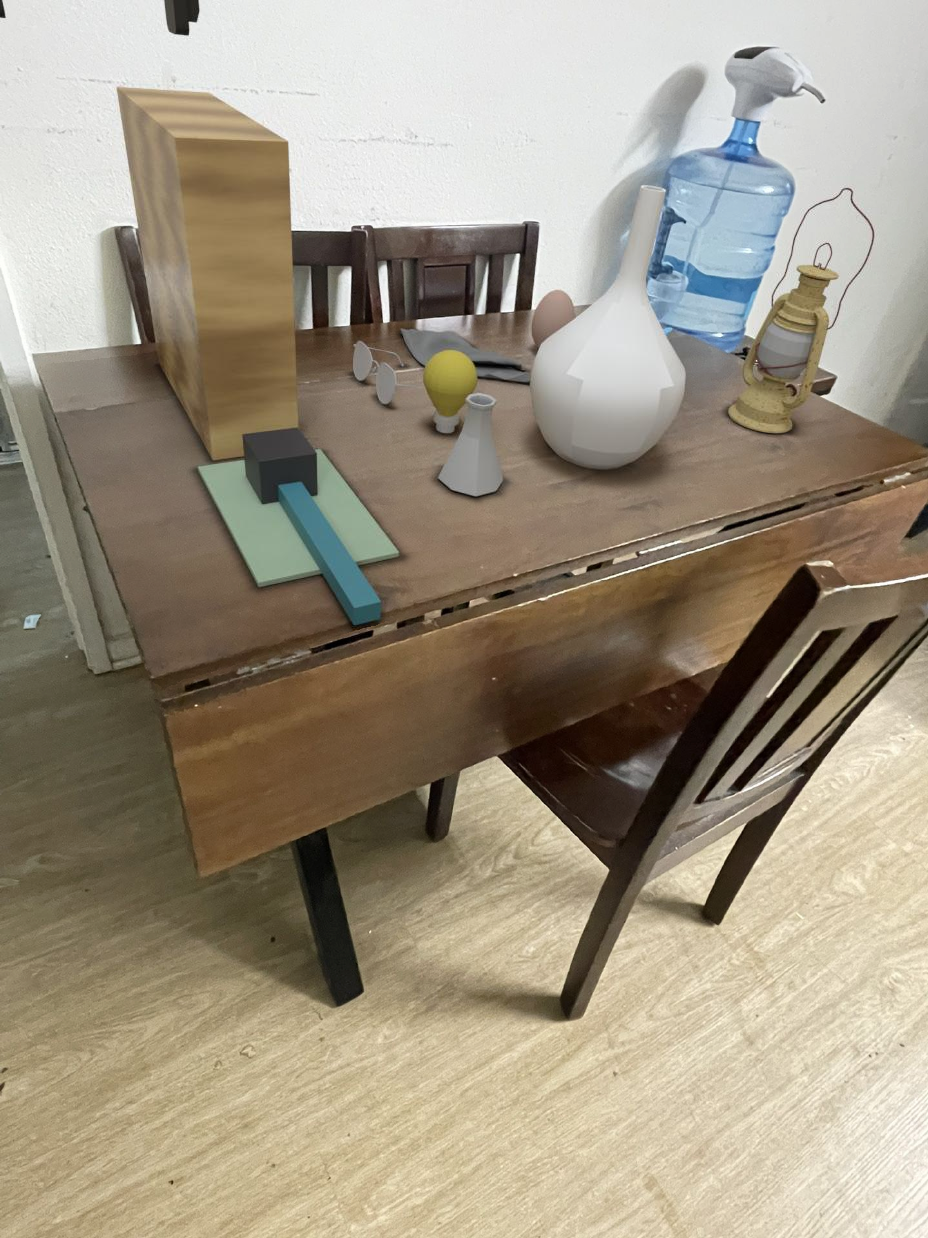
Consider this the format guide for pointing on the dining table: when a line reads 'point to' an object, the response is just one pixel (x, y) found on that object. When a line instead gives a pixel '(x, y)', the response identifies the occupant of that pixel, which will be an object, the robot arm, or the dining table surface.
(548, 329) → the egg
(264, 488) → the hammer
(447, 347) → the cloth
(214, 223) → the stand
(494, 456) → the flask
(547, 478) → the dining table surface
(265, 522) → the mat
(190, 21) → the robot arm
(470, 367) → the light bulb
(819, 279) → the lantern
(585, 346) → the vase
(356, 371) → the sunglasses
